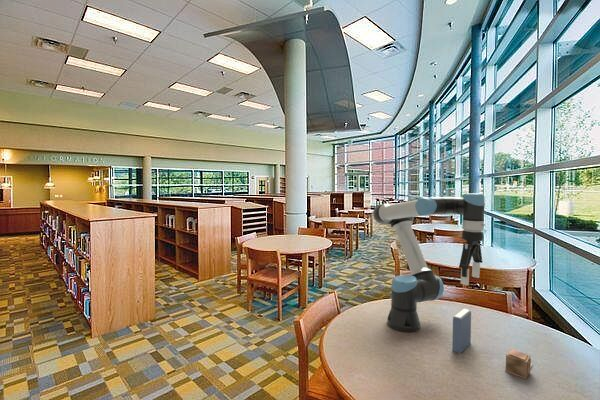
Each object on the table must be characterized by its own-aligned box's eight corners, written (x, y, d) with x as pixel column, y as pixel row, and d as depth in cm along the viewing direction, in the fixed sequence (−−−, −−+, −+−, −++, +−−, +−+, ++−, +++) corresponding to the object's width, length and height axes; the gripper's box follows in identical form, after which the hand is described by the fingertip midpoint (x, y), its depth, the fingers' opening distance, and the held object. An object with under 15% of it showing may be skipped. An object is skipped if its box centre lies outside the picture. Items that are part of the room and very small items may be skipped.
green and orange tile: (504, 370, 106) (504, 369, 106) (509, 364, 110) (509, 363, 110) (525, 378, 101) (525, 377, 101) (529, 371, 105) (529, 370, 105)
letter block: (505, 370, 106) (506, 353, 105) (509, 363, 110) (510, 347, 109) (527, 378, 101) (527, 361, 101) (530, 371, 105) (531, 354, 105)
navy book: (452, 350, 119) (453, 316, 119) (462, 340, 127) (463, 307, 127) (460, 353, 117) (461, 318, 116) (470, 343, 125) (471, 310, 124)
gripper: (472, 235, 110) (470, 290, 111) (491, 228, 127) (489, 276, 128) (451, 232, 115) (449, 285, 117) (472, 226, 132) (470, 272, 133)
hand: (470, 280), depth 122 cm, fingers open, 13 cm apart
